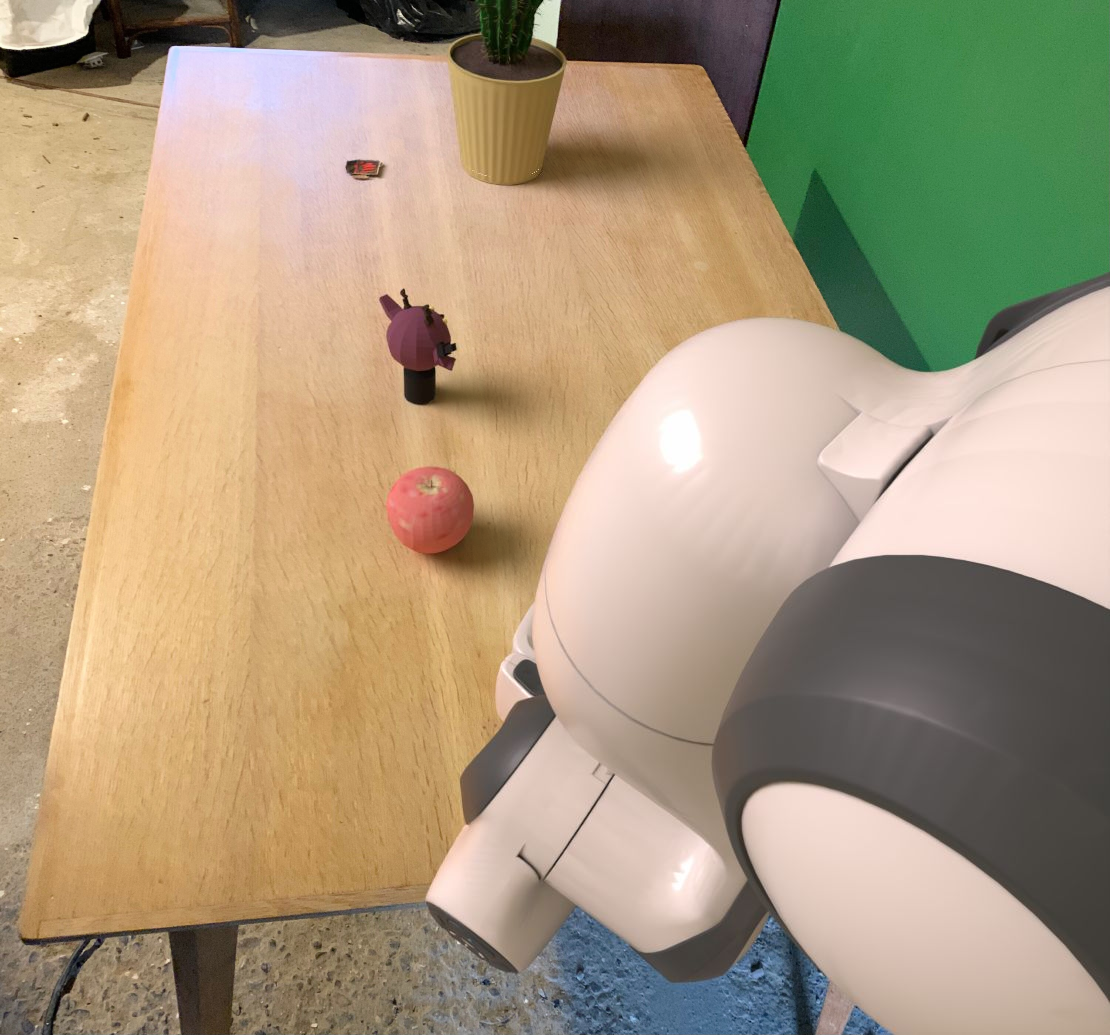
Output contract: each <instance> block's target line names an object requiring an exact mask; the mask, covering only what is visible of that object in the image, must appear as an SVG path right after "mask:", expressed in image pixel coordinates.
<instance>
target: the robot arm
mask: <svg viewBox="0 0 1110 1035" xmlns="http://www.w3.org/2000/svg"><path fill="white" fill-rule="evenodd" d="M537 583H538V584H537V587H536V591H535V597H534V601H533V603H532V604H531V606H530V607H529V609H528V610H527V611H526V613H525V615H524V616H523V618H522V620H520V622H519V625H518V626H517V628H516V630H515V633H514V635H513V639H512V646H511V652H510V653H509V654H508V655H507V656H506V657H505V658H504V659H503V660H502V662H501V663H500V666H499V669H498V672H497V676H496V681H495V691H494V692H495V693H494V694H495V696H494V698H495V699H494V700H495V711H496V714H497V716H498V717H499V719H500V721H502V722H503V723H502V725H501V727H500V728H499V729H498V730H497V732H496V733H495V734H494V735H493V736H492V738H491V739H490V740H489V741H488V742H487V744H485V746H484V747H483V748H482V749H481V750H480V751H479V752H478V753H477V754H476V755H475V757H474V758H473V759H472V760H471V761H470V762H469V764H468V765H467V766H466V767H465V769H464V770H463V771H462V773H461V775H460V778H459V787H460V796H461V808H462V814H463V818H464V823H465V824H464V825H463V827H462V828H461V830H460V832H459V833H458V835H457V836H456V838H455V840H454V842H453V843H452V845H451V846H450V849H449V850H448V851H447V853H446V855H445V858H444V859H443V861H442V862H441V864H440V866H439V868H438V870H437V872H436V874H435V875H434V878H433V880H432V881H431V884H430V886H429V888H428V890H427V893H426V896H425V904H426V906H427V908H428V910H429V914H430V916H432V918H433V920H434V921H435V923H436V924H438V926H439V927H440V928H441V929H443V930H445V931H446V932H447V934H448V935H449V936H450V937H452V938H453V939H454V940H456V941H457V942H458V943H459V944H461V945H462V946H464V947H465V948H466V949H467V950H468V951H469V952H471V953H473V955H475V956H476V957H478V958H479V960H482V961H485V962H486V963H487V964H488V965H489V966H491V967H493V968H494V969H496V970H499V971H502V972H505V973H510V974H511V973H512V974H522V973H523V972H525V971H526V970H527V969H528V968H529V967H530V966H531V965H532V964H533V963H534V961H536V959H537V958H538V957H539V955H540V954H541V953H542V952H543V951H544V950H545V949H546V947H547V946H548V945H549V943H550V942H551V941H552V939H553V938H554V937H555V935H556V934H557V933H558V932H559V930H560V929H561V928H562V926H563V925H564V924H565V923H566V921H567V920H568V918H569V917H570V916H571V915H572V914H573V911H575V909H576V907H578V908H579V909H581V910H582V911H583V912H585V913H586V914H588V916H590V917H592V918H593V919H594V920H596V921H597V922H598V923H599V924H601V925H602V926H603V927H605V928H606V929H607V930H609V931H610V932H612V933H613V934H614V935H616V936H617V937H618V938H619V939H621V940H622V941H624V942H625V943H626V944H628V946H629V947H630V949H631V950H632V951H633V952H634V953H635V954H637V955H638V956H639V957H640V958H641V959H642V960H643V961H645V962H646V963H647V964H648V965H649V966H650V967H652V968H653V969H654V970H655V971H656V972H658V973H659V974H660V975H661V976H662V977H663V978H664V979H666V980H667V981H668V982H669V983H672V984H683V983H684V984H685V983H696V982H697V983H698V982H703V981H709V980H713V979H717V978H719V977H722V976H724V975H725V974H726V973H727V972H728V971H729V970H730V969H731V968H732V967H734V966H735V965H736V964H737V963H739V961H741V959H743V957H745V955H746V954H747V953H748V952H749V951H750V950H751V948H753V946H754V944H755V943H756V941H757V939H758V938H759V937H760V935H761V933H762V931H763V930H764V928H765V926H766V924H767V922H768V919H769V917H770V916H772V918H773V920H775V922H776V923H777V925H778V926H779V927H780V928H781V930H782V931H783V932H784V933H785V934H786V936H787V937H788V938H789V939H790V940H791V941H792V942H793V944H794V945H795V946H796V947H797V948H798V949H799V951H800V952H801V953H802V954H803V955H804V956H805V958H807V959H808V960H809V961H810V962H811V963H812V964H813V965H814V967H815V968H816V969H817V970H818V971H819V972H820V973H821V974H822V975H823V976H825V978H826V979H828V980H829V981H830V982H831V983H832V984H833V985H834V987H836V988H837V989H838V990H839V991H840V993H842V994H843V995H844V996H845V997H846V998H847V999H848V1000H849V1001H850V1002H852V1004H853V1005H855V1006H856V1007H857V1008H858V1009H859V1010H861V1011H862V1012H863V1013H864V1014H865V1015H867V1016H868V1017H869V1018H870V1019H872V1020H873V1021H874V1022H875V1023H877V1024H878V1025H879V1026H880V1027H881V1028H883V1029H885V1030H886V1031H887V1032H888V1033H890V1034H891V1035H1110V271H1108V272H1105V273H1103V274H1101V275H1098V276H1095V277H1093V278H1090V279H1087V280H1085V281H1081V282H1078V283H1075V284H1073V285H1069V286H1065V287H1062V288H1060V289H1057V290H1054V291H1051V292H1048V293H1045V294H1042V295H1038V296H1035V297H1033V298H1029V299H1027V300H1023V301H1021V302H1018V303H1014V304H1012V305H1008V306H1006V307H1004V308H1003V309H1001V310H1000V311H998V312H997V313H996V314H994V315H993V316H992V317H991V319H989V321H988V323H987V325H986V326H985V329H984V331H983V334H982V335H981V338H980V341H979V342H978V345H977V349H976V352H975V356H974V359H973V360H971V361H969V362H967V363H964V364H962V365H960V366H957V367H954V368H950V369H946V370H940V371H919V370H914V369H911V368H907V367H904V366H901V365H899V364H898V363H896V362H894V361H892V360H891V359H889V358H887V357H886V356H884V354H882V353H881V352H880V351H879V350H876V349H875V348H873V347H872V346H870V345H869V344H867V343H866V342H864V341H862V340H860V339H859V338H856V337H854V336H852V335H850V334H848V333H847V332H844V331H841V330H840V329H836V328H834V327H831V326H829V325H825V324H821V323H818V322H814V321H810V320H805V319H801V318H800V319H799V318H792V317H778V316H759V317H758V316H757V317H747V318H742V319H736V320H731V321H727V322H725V323H722V324H718V325H714V326H711V327H709V328H706V329H704V330H702V331H699V332H698V333H695V334H694V335H692V336H690V337H688V338H686V339H685V340H683V341H682V342H680V343H679V344H678V345H676V346H674V347H672V349H670V350H668V352H667V353H665V355H664V356H662V357H661V358H660V360H659V361H658V362H656V364H654V365H653V366H652V367H651V368H650V369H649V370H648V372H646V375H645V376H644V377H643V378H642V380H641V381H640V382H639V383H638V385H637V386H636V388H635V389H634V390H633V391H632V392H631V394H630V395H629V397H628V398H627V399H626V400H625V402H624V403H623V404H622V405H621V406H620V408H619V409H618V411H617V412H616V414H615V415H614V417H613V419H611V421H610V423H609V424H608V426H606V428H605V430H604V432H603V433H602V434H601V436H600V438H599V440H598V442H597V443H596V445H595V446H594V447H593V450H592V452H591V453H590V455H589V457H588V459H587V460H586V462H585V464H584V466H583V468H582V469H581V471H580V473H579V475H578V476H577V478H576V480H575V482H574V484H573V487H572V489H571V491H570V493H569V495H568V497H567V500H566V502H565V504H564V506H563V509H562V512H561V515H560V516H559V519H558V521H557V524H556V527H555V531H554V533H553V535H552V538H551V541H550V543H549V546H548V549H547V552H546V556H545V558H544V562H543V565H542V569H541V572H540V576H539V580H538V582H537Z"/></svg>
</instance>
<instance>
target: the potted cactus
mask: <svg viewBox="0 0 1110 1035" xmlns="http://www.w3.org/2000/svg"><path fill="white" fill-rule="evenodd" d="M548 1H550V2H552V0H548ZM475 4H476V6H477V7H476V9H477V10H476V11H475V13H478V11H479V14H477V15H476V17H474V19H476V18H477V17H479V21H478V23H476V25H480V26H479V27H478V30H479V32H480V33H475V34H469V35H465V36H463V37H460V38H458V39H456V40H454V41H453V42H451V43H450V44H449V45H448V47H447V49H446V57H447V65H448V73H449V74H448V75H449V79H450V87H451V88H450V89H451V95H452V102H453V103H452V104H453V110H454V119H455V127H456V133H457V134H456V136H457V141H458V142H457V143H458V150H459V156H460V157H459V158H460V163H461V166H462V168H463V170H464V171H465V172H466V174H468V175H469V176H470V177H472V178H474V179H476V180H478V181H481V182H485V183H486V184H487V183H488V184H491V185H502V186H513V185H514V186H515V185H520V184H524V183H528V182H530V181H533V180H534V179H536V177H538V176H539V175H540V173H541V172H542V171H541V170H542V168H543V164H544V159H545V156H546V151H547V146H548V142H549V139H550V134H551V129H552V125H553V122H554V117H555V112H556V108H557V104H558V101H559V96H560V92H561V88H562V83H563V80H564V75H565V69H566V67H567V63H568V62H567V57H566V56H565V54H564V53H563V52H562V50H560V49H559V48H557V47H556V46H555V45H553V44H551V43H549V42H546V41H545V40H542V39H539V38H536V36H535V35H534V31H535V33H538V31H537V30H536V26H538V27H539V26H540V24H537V23H535V20H536V19H535V18H536V17H535V16H536V15H539V16H541V17H542V18H543V16H542V15H544V14H542V13H543V12H542V10H541V9H540V8H539V7H540V6H541V5H542V4H544V5H546V3H545V0H475ZM538 11H540V12H542V13H540V12H538ZM543 19H544V18H543ZM461 159H462V160H461ZM462 162H463V163H464V164H463V163H462ZM541 165H542V166H541ZM466 166H467V167H466ZM468 167H469V168H470V169H471V170H470V169H469V168H468ZM538 169H539V170H538ZM472 170H474V171H475V172H474V171H472ZM536 171H537V172H536ZM476 172H477V173H476ZM534 172H535V173H534ZM478 173H481V174H483V175H481V174H478ZM532 173H533V174H532ZM484 175H487V176H484ZM489 176H490V177H489Z"/></svg>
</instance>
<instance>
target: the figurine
mask: <svg viewBox="0 0 1110 1035" xmlns="http://www.w3.org/2000/svg"><path fill="white" fill-rule="evenodd" d="M399 294H400V296H401V297H402V303H403V307H402V306H400V304H398V303H397V302H396V301H395V300H394V299H393V298H392V297H391V296H390V295H389V294H388V293H386V294H384V295H382V296H380V297H379V299H378V301H379V304H380V305H381V307H382V309H383V311H384V314H385V315H386V317H387V318H388V319H389V320H390V323H389V325H388V327H387V329H386V334H385V336H386V337H385V338H386V342H387V347H388V349H389V353H390V356H391V357H392V358H393V360H394V361H395V362H397V363H398V364H400V365H401V366H402V367H403V396H404V399H405V400H406V401H407V402H409V403H410V404H413V405H417V406H418V405H419V406H422V405H428V404H430V403H432V402H433V401H434V400H435V399H436V396H437V395H436V393H437V391H436V390H437V388H436V387H437V386H436V385H437V382H436V380H437V379H436V378H437V376H436V375H437V374H436V373H437V371H436V367H437V366H439V367H441V368H443V369H445V370H448V371H453V368H454V365H455V363H456V362H457V358H456V357H454V356H450V355H452V354H453V352H456V351H458V349H457V343H456V342H453V343H452V337H451V333H450V330H449V326H448V324H447V323H448V320H447V318H445V314H444V313H438V312H437V311H435V307H434V306H430V305H429V304H428V303H426V304H425V305H411V303H410V301H409V295H408V294H406V289H405V288H402V289H401V290H400V292H399Z"/></svg>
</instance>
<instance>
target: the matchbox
mask: <svg viewBox="0 0 1110 1035" xmlns="http://www.w3.org/2000/svg"><path fill="white" fill-rule="evenodd" d="M380 167H384V164H383V162H381V160H379V159H360V158H358V159H354V160H348V159H347V160H346V162H345V170H346V173H347V174H351V177H352V178H353V179H356V180H359V179H369V178H370V175H371V176H372V177H373V175H378V174H379V171H380ZM367 175H368V176H367Z"/></svg>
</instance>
